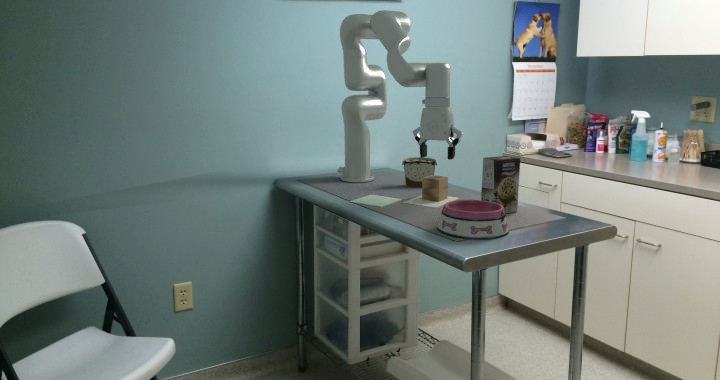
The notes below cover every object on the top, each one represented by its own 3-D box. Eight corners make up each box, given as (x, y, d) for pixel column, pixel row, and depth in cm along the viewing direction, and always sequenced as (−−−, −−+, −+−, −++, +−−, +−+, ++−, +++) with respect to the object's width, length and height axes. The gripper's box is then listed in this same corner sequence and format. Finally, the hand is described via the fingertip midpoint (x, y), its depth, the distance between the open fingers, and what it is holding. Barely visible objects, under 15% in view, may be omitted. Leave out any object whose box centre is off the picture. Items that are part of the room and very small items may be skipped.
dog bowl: (449, 218, 166) (450, 194, 165) (515, 226, 158) (517, 201, 157) (427, 235, 150) (428, 209, 149) (500, 244, 142) (501, 217, 141)
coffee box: (494, 215, 168) (496, 160, 165) (479, 210, 174) (481, 157, 171) (518, 212, 172) (521, 157, 169) (503, 207, 178) (506, 154, 175)
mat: (349, 202, 185) (349, 201, 185) (371, 195, 194) (371, 194, 194) (381, 207, 178) (381, 206, 178) (402, 200, 188) (402, 199, 187)
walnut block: (422, 199, 188) (422, 177, 186) (431, 196, 193) (431, 175, 191) (438, 201, 184) (439, 180, 183) (447, 198, 189) (448, 177, 188)
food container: (436, 184, 212) (436, 157, 210) (436, 188, 206) (437, 160, 204) (402, 184, 213) (402, 156, 211) (401, 187, 207) (401, 159, 205)
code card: (402, 202, 184) (402, 202, 184) (427, 193, 197) (427, 193, 197) (436, 208, 177) (436, 207, 177) (460, 198, 190) (460, 197, 190)
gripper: (407, 103, 184) (407, 157, 187) (457, 104, 174) (456, 161, 177) (419, 102, 190) (419, 155, 193) (468, 103, 180) (467, 158, 183)
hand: (437, 158), depth 185 cm, fingers open, 9 cm apart
